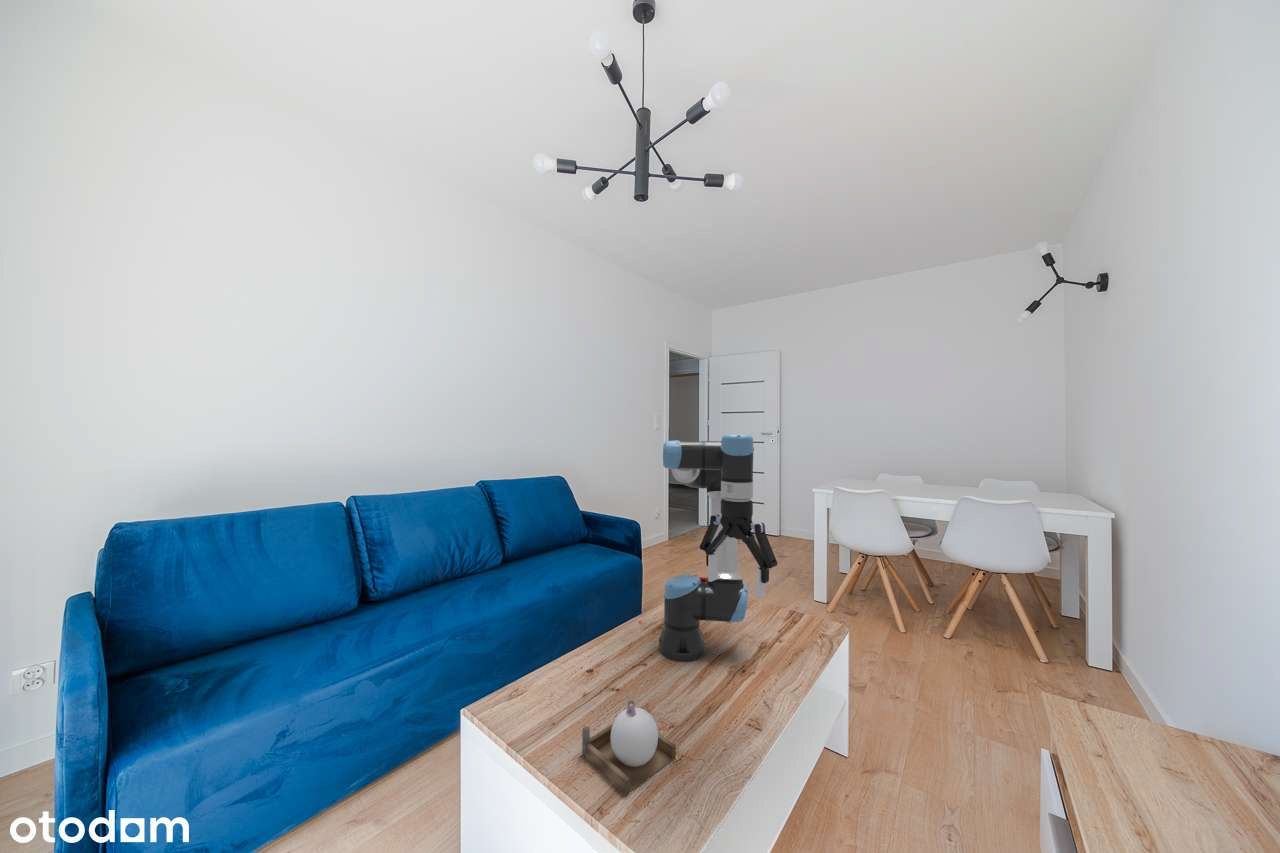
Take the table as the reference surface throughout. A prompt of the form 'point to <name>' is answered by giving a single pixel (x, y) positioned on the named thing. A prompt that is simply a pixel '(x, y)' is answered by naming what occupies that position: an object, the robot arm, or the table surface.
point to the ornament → (634, 736)
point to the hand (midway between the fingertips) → (735, 587)
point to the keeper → (616, 771)
